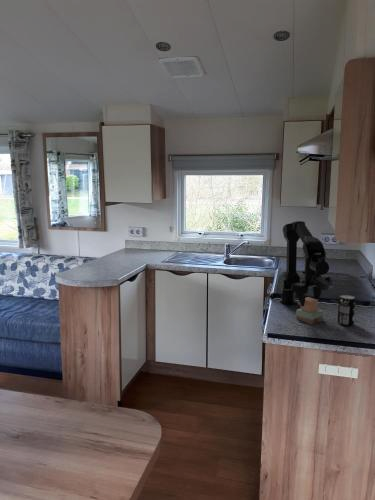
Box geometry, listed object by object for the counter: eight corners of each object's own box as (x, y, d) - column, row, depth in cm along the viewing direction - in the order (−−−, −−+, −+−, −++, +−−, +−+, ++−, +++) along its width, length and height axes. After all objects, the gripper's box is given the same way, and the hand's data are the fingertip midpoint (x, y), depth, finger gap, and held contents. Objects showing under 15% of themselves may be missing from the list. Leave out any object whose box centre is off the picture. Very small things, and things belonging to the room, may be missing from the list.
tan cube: (308, 307, 174) (308, 297, 173) (317, 310, 170) (317, 299, 169) (300, 309, 171) (301, 298, 170) (309, 312, 167) (310, 301, 166)
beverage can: (349, 321, 170) (351, 294, 168) (356, 326, 163) (358, 298, 161) (334, 321, 170) (336, 294, 168) (341, 326, 163) (343, 299, 161)
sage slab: (306, 311, 177) (306, 306, 176) (322, 315, 171) (322, 310, 170) (296, 315, 172) (296, 309, 171) (312, 319, 166) (312, 314, 165)
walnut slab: (307, 316, 177) (307, 311, 177) (322, 321, 171) (323, 316, 170) (296, 320, 172) (296, 314, 172) (311, 325, 166) (311, 319, 166)
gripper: (313, 276, 156) (311, 313, 158) (341, 270, 166) (338, 305, 169) (291, 270, 165) (289, 306, 167) (319, 265, 175) (317, 299, 178)
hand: (309, 304), depth 170 cm, fingers open, 9 cm apart
